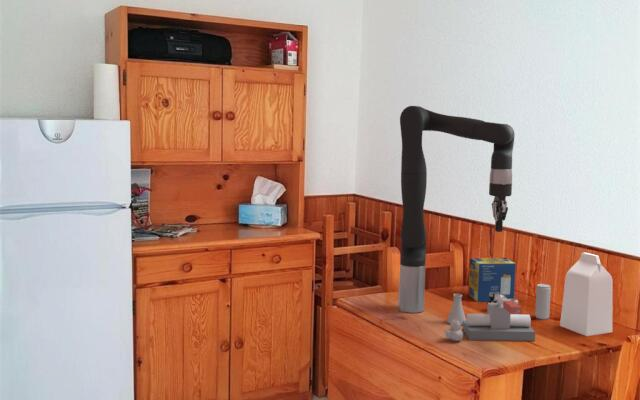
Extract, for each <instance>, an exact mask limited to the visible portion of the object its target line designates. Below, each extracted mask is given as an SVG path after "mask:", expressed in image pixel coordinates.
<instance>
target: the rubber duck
mask: <svg viewBox="0 0 640 400" xmlns="http://www.w3.org/2000/svg"><path fill="white" fill-rule="evenodd" d="M449 327H450V328H448V329H445V330H444V334H445V338H446V339H449V340H451V341H453V342H458V341H462V340H463V337H464V331H463V329H461V327H462V325H461V324H460V323H459V321H458V320H457V317H456V319H453V320H452V321H451V323H450V324H449Z"/></svg>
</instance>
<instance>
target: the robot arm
mask: <svg viewBox="0 0 640 400" xmlns="http://www.w3.org/2000/svg"><path fill="white" fill-rule="evenodd" d="M399 125H400V136H401V158H400V159H401V162H400V163H401V167H400V173H401V174H400V187H401V200H402V221H401V222H402V223H401V229H400V239H401V243H400V258H399V259H400V260H399V262H400V263H399V282H398V306H397V307H398V309H399V312H404V313H409V314H412V313H414V314H417V313H422V312H424V311H425V287H426V261H427V260H426V259H427V229H426V227H425V219H424V218H425V217H424V206H425V200H426V193H427V184H428V183H427V177H428V176H427V173H428V172H427V163H426V159H425V154H424V149H423V131H425V132H426V131H427V132H428V131H429V132H440V133H445V134H448V135H452V136H455V137H460V138H464V139H470V140H473V141H474V140H475V141H482V142H487V143H489V144H490V143H491V144H493V152H492V154H491V159H490V173H489V183H488V189H489V190H488V194H489V196H491V197H494V199H493V200H492V202H491V208H492V209H491V210H492V217H493V219H494V221H495V222H494V231H495V232H497V233H499V232H500V233H502V232H503V225H504V221H505V220H506V217H507V213H508V210H509V207H508V201H507V199H506V198H507V197H511V196H512V191H513V190H512V189H513V188H512V187H513V170H512V169H513V149H514V144H515V129H514V128H513V127H512V126H511V125H510V124H507V123H497V122H491V121H484V120H482V119H478V118H477V119H476V118H471V117H463V116H454V115H446V114H443V113H438V112H434V111H433V110H432V111H431V110H429V109H426V108H424V107H422V106H419V105H408V106H407V107H405V108H403V109H402V112H401V114H400V116H399Z"/></svg>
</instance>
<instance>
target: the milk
mask: <svg viewBox="0 0 640 400" xmlns="http://www.w3.org/2000/svg"><path fill="white" fill-rule="evenodd" d="M613 283H614V282H613V277H612V275H611V273H609V271H608V270H607V269H606V268H605V267H604V266H603V264H602V263H601V260H600V256H599V255H596V254H593V253H589V252H581V255H580V257H579V259H578V260H577V261H576V262H575V264H573V265H572V266H571V267H570V268H569V269H568V270H567V272H566V274H565V279H564V288H563V295H562V305H561V315H560V321H559V326H560V327H561V328H564V329H567V330H570V331H572V332H575V333H577V334H580V335H582V336H584V337H590V336H597V335H604V334H608V333H613V301H614V300H613V298H614V295H613V294H614V292H613V289H614V288H613V287H614V286H613Z"/></svg>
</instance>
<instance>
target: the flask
mask: <svg viewBox="0 0 640 400" xmlns="http://www.w3.org/2000/svg"><path fill="white" fill-rule="evenodd" d="M452 296H453V301H452V306H451V309H450V311H449V314H448V316H447V318H446V323H447V324H449V325H450V323H451V321H452V320H453V319H456V317H457V320H458V321H459V323H460V324H461V326H463V321H467V316H466V315H465V311H464V308H463V303H462V298H463V295H462V293H453V294H452Z"/></svg>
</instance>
